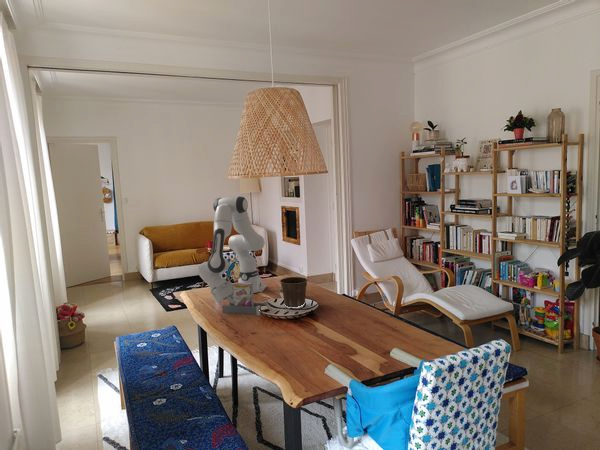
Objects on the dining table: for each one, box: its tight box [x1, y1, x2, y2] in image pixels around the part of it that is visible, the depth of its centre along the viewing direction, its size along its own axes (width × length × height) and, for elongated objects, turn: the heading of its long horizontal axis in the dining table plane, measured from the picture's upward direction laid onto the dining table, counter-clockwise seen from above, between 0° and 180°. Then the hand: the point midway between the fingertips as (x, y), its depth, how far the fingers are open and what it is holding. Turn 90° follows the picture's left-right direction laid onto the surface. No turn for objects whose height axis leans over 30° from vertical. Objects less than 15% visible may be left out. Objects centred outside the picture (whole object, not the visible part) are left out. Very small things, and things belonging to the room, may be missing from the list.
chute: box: [221, 300, 269, 316], centre depth 260 cm, size 12×24×5 cm, turn 70°
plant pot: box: [279, 276, 309, 307], centre depth 264 cm, size 16×16×16 cm
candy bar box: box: [232, 282, 255, 307], centre depth 259 cm, size 11×5×16 cm, turn 80°
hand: (234, 302), depth 262 cm, fingers closed
